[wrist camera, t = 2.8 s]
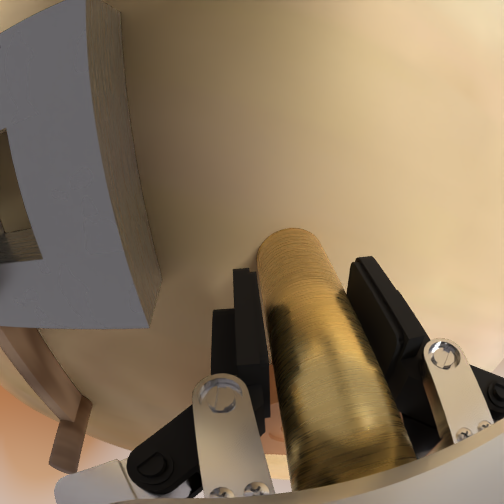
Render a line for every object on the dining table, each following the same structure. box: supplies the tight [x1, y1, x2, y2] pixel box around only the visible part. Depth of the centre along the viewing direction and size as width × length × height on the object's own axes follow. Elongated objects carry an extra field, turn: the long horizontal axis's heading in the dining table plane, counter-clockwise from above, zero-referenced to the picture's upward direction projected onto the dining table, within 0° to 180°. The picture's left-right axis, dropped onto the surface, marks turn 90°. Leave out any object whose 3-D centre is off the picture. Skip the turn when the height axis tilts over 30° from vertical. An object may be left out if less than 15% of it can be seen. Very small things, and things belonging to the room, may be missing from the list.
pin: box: [257, 228, 417, 492], centre depth 9 cm, size 3×3×10 cm
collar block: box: [0, 0, 162, 329], centre depth 9 cm, size 11×11×3 cm
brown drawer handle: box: [0, 326, 92, 474], centre depth 12 cm, size 14×2×6 cm, turn 3°
